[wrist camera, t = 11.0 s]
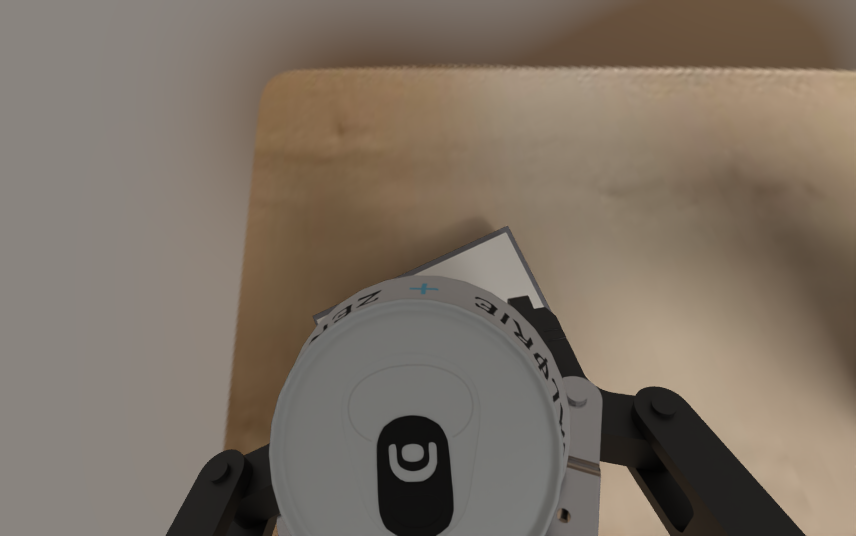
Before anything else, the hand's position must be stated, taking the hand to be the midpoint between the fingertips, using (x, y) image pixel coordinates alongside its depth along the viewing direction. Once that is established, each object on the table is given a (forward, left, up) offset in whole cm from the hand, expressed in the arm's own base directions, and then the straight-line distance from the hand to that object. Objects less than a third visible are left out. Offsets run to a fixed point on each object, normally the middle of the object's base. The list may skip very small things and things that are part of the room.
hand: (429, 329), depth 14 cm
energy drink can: (0, +2, -7) cm, 8 cm away
